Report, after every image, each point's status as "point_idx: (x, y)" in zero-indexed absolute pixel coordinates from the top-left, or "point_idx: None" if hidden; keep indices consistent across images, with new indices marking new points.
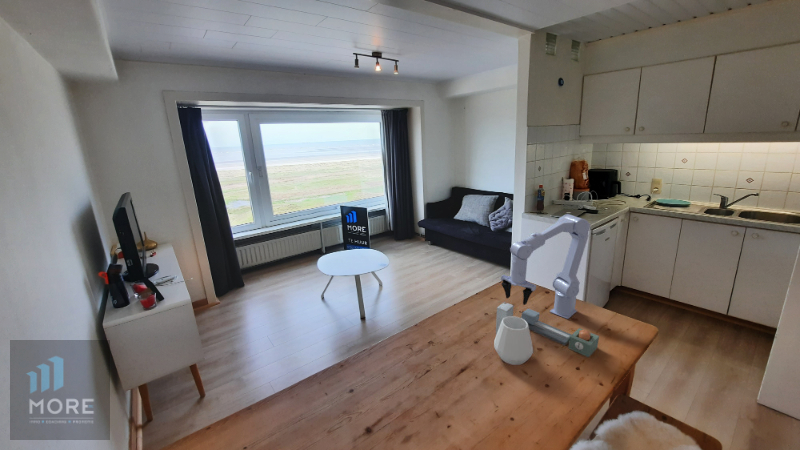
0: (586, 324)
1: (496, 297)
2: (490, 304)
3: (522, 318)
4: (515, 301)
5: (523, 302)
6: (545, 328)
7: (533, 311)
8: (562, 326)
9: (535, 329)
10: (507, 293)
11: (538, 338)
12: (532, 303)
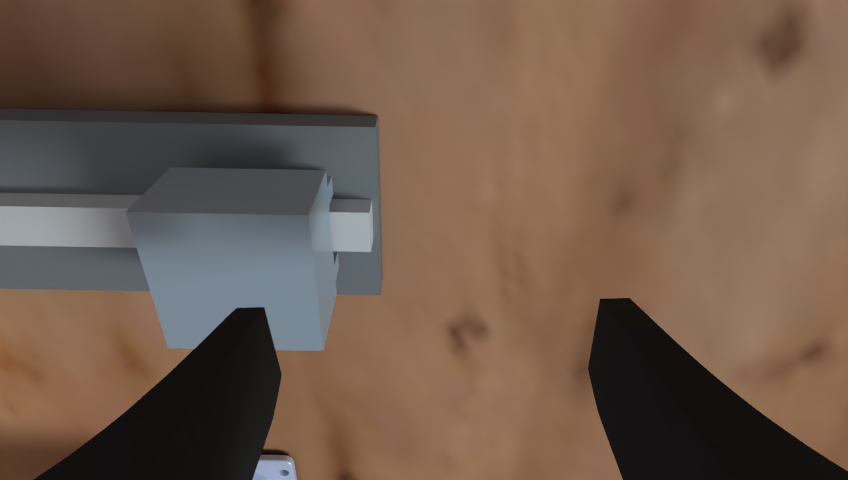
0: (29, 468)
1: (771, 388)
2: (792, 254)
3: (310, 175)
4: (587, 428)
5: (233, 331)
6: (59, 201)
7: None
8: (91, 356)
9: (129, 126)
10: (647, 384)
11: (32, 23)
12: (459, 474)
